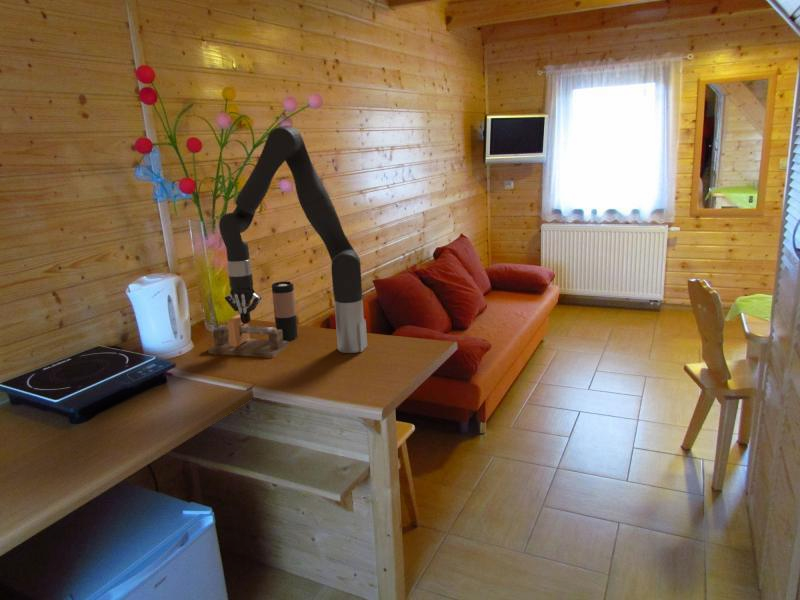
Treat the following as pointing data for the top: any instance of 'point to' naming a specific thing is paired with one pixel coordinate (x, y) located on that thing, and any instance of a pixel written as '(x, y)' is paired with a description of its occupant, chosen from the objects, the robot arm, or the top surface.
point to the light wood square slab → (236, 331)
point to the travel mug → (285, 309)
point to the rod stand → (249, 342)
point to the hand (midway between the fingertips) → (245, 323)
